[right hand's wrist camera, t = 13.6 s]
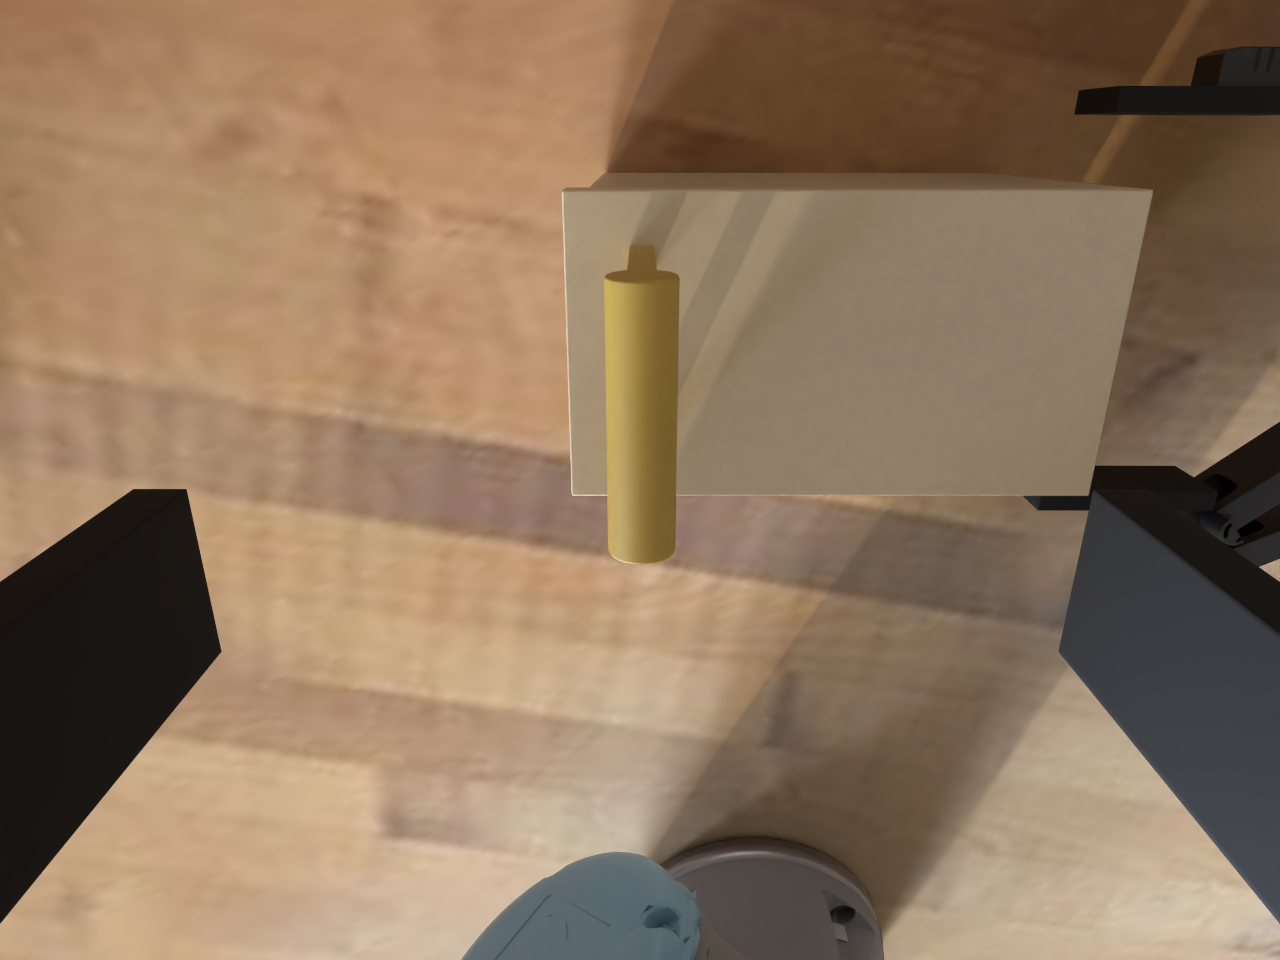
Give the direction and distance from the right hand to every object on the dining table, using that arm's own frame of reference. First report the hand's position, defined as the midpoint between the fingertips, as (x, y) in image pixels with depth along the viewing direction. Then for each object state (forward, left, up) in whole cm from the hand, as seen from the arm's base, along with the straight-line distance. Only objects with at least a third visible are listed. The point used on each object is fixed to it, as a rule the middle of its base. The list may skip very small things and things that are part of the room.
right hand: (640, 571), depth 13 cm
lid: (+3, -5, -15) cm, 16 cm away
